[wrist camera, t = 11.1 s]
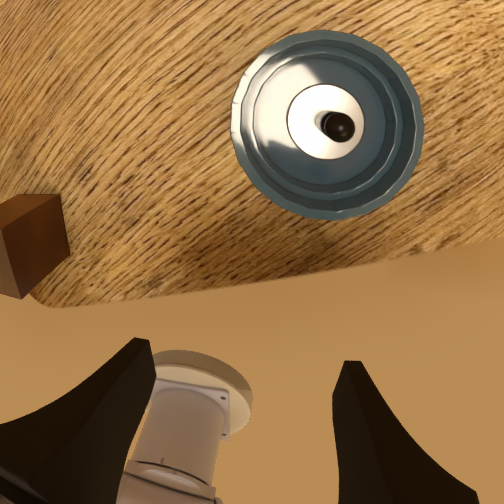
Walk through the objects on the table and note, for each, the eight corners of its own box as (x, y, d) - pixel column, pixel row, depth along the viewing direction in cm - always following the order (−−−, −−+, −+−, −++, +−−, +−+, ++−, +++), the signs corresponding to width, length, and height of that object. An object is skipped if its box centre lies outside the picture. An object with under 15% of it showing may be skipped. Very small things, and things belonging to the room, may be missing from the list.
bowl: (384, 204, 18) (406, 229, 15) (238, 189, 19) (227, 211, 15) (402, 60, 14) (430, 52, 11) (245, 40, 15) (235, 23, 11)
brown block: (70, 254, 22) (21, 299, 16) (29, 249, 22) (-19, 288, 17) (59, 194, 20) (1, 228, 14) (17, 194, 20) (-38, 225, 14)
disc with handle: (354, 159, 17) (386, 187, 11) (283, 151, 17) (283, 175, 12) (361, 90, 15) (398, 86, 10) (288, 81, 15) (291, 69, 10)
